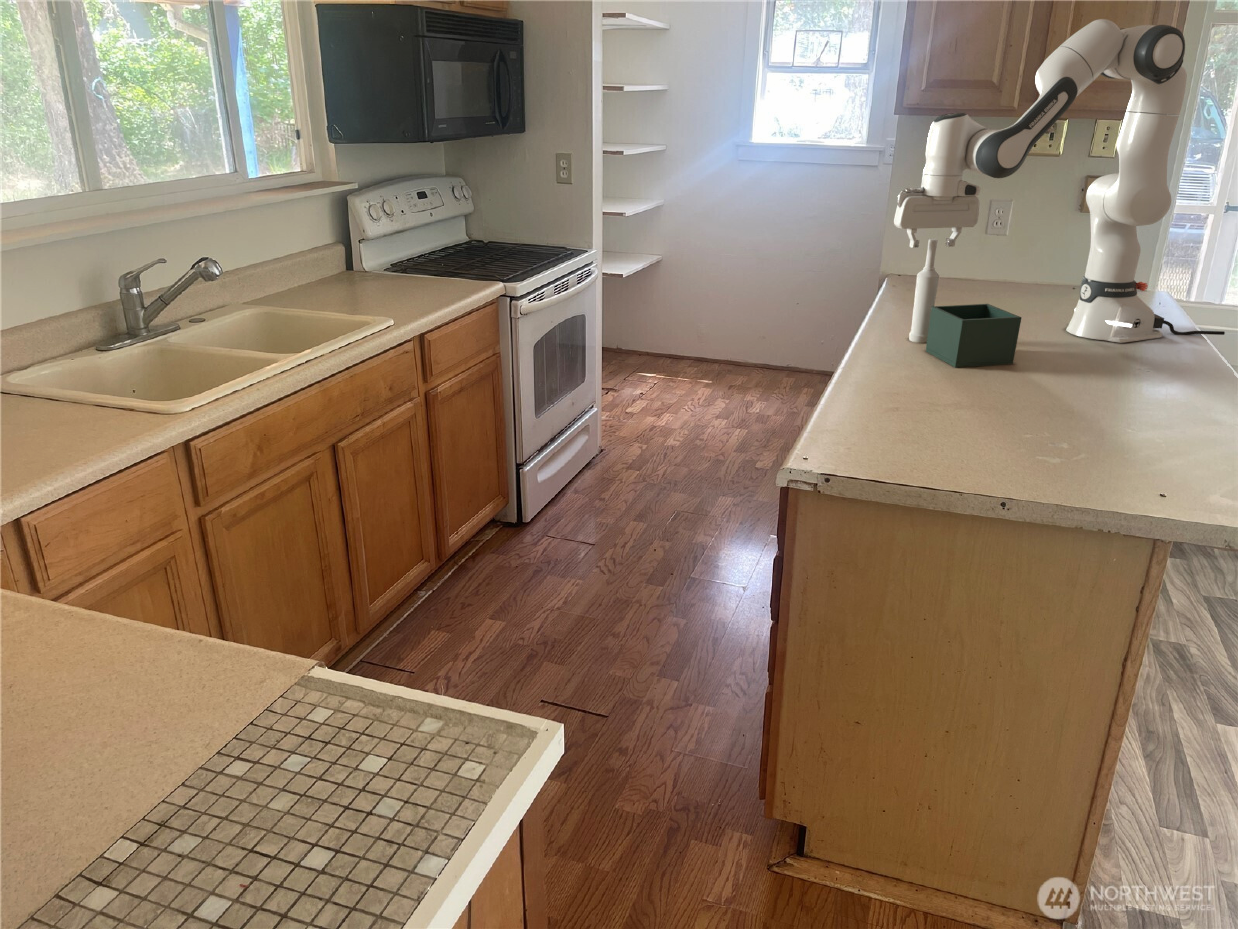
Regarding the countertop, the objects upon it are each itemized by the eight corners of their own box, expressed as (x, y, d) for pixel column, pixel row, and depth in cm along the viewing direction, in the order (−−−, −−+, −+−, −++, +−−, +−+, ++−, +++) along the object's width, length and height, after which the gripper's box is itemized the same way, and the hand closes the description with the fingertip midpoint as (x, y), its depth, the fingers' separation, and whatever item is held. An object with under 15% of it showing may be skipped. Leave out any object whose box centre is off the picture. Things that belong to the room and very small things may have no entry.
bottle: (931, 343, 217) (945, 241, 207) (909, 342, 218) (923, 240, 208) (928, 338, 221) (943, 238, 211) (907, 337, 222) (920, 237, 212)
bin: (980, 347, 213) (987, 303, 209) (1013, 363, 201) (1021, 317, 196) (925, 351, 211) (931, 306, 206) (955, 367, 198) (962, 320, 194)
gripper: (906, 189, 200) (898, 250, 205) (987, 187, 203) (977, 247, 209) (893, 186, 206) (885, 245, 211) (972, 184, 209) (963, 243, 215)
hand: (931, 246), depth 210 cm, fingers open, 8 cm apart
